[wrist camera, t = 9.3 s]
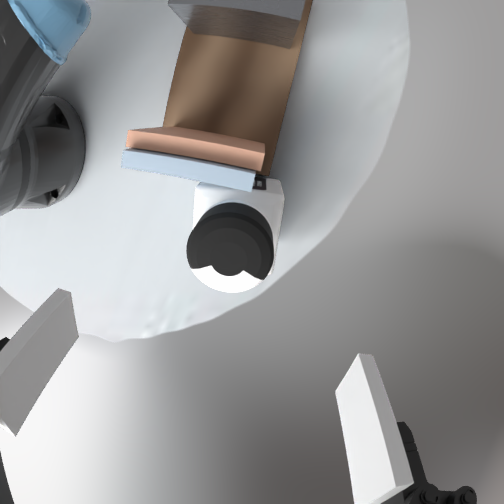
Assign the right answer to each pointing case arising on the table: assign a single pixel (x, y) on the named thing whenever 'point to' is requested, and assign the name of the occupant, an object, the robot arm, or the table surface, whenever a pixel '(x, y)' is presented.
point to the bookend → (243, 19)
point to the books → (194, 155)
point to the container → (235, 234)
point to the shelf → (234, 87)
